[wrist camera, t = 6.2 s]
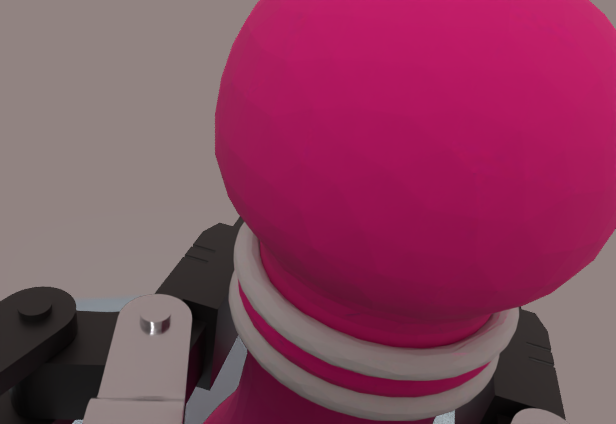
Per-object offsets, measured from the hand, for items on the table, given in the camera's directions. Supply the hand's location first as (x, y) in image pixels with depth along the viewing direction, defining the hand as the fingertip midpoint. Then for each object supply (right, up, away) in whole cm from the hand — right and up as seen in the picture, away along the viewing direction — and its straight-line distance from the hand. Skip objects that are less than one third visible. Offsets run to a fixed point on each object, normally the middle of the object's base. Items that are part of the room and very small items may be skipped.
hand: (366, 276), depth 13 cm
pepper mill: (-2, -11, +4) cm, 11 cm away
